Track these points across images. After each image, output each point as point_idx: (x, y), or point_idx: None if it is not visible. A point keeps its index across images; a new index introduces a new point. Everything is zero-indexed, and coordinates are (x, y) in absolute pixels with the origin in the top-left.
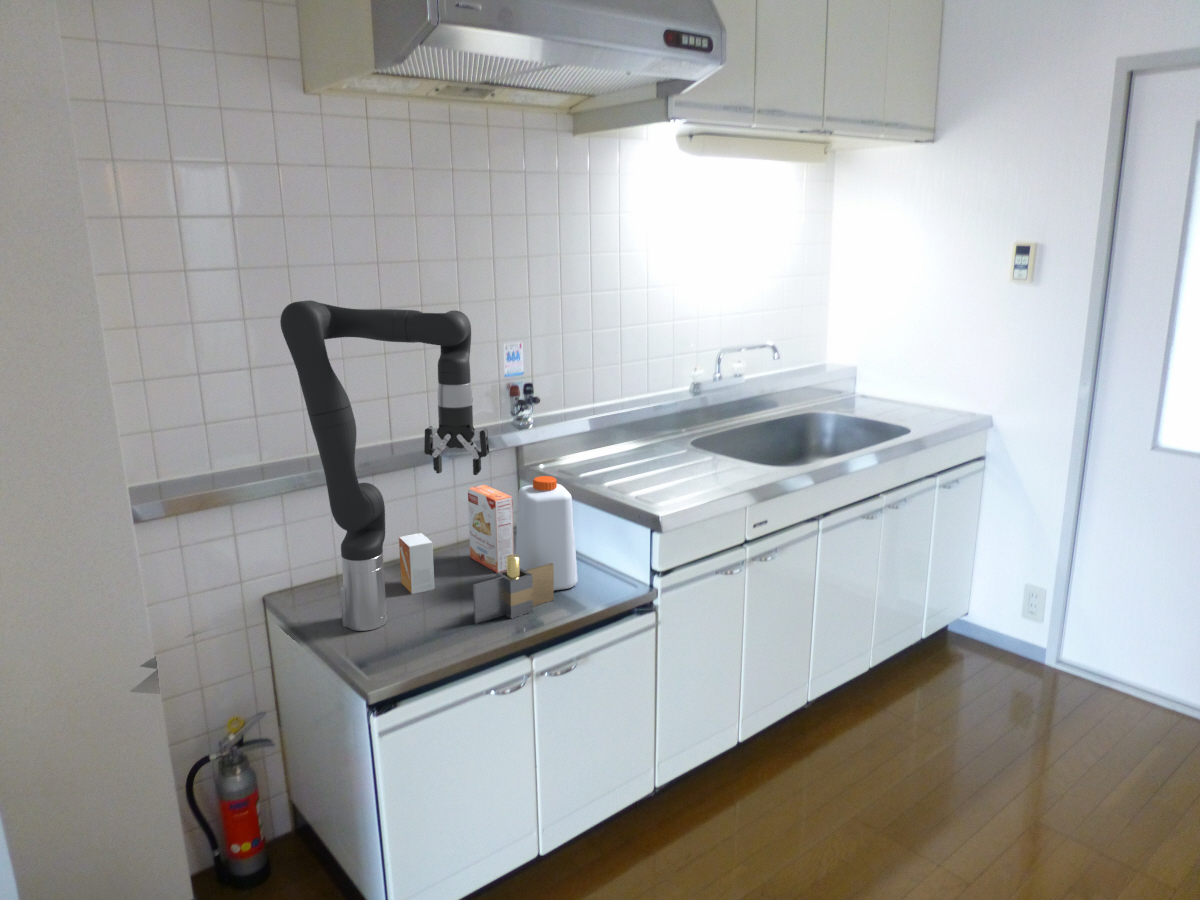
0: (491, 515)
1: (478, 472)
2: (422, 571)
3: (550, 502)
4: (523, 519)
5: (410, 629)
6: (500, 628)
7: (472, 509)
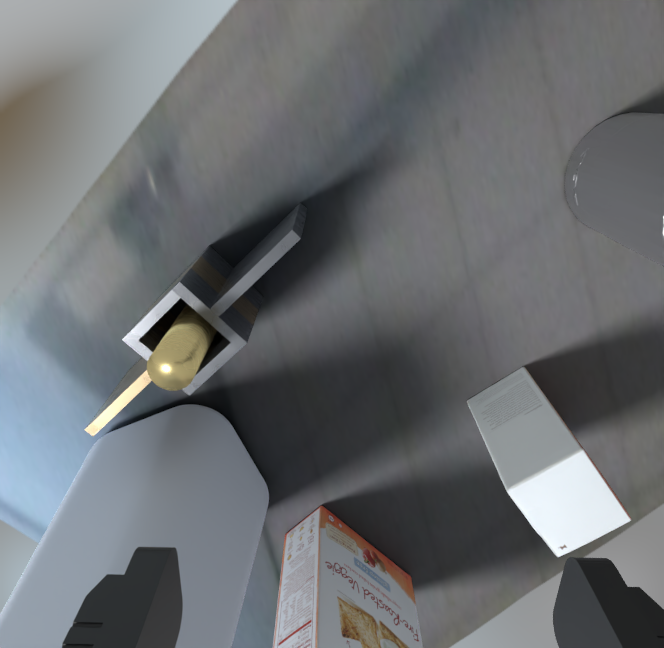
0: None
1: (109, 575)
2: (511, 415)
3: None
4: None
5: (483, 145)
6: (222, 181)
7: None
